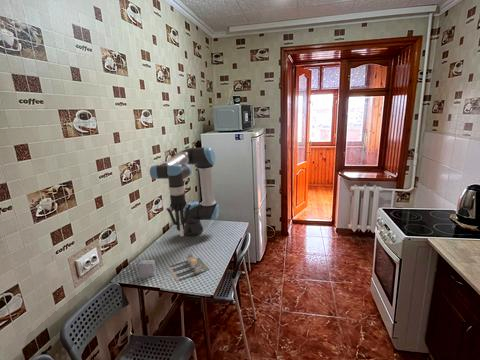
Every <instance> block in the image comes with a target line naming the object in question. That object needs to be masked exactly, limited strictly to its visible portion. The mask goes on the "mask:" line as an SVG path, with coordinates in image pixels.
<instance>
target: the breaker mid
mask: <svg viewBox="0 0 480 360" xmlns="http://www.w3.org/2000/svg"><path fill="white" fill-rule="evenodd" d="M196 259H197V258H195V259H192V260H190V263H191V267H190V268H191V269H193V268H194V265H195V264H197V263H198V262H197V260H196Z"/></svg>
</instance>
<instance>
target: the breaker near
mask: <svg viewBox="0 0 480 360" xmlns="http://www.w3.org/2000/svg"><path fill="white" fill-rule="evenodd" d="M197 263H198V262H197ZM194 268H195V269H194V270H195V271H194V272H195V274H196V273H199V272H202V271H203V269H202V267H201V265H200V264H199V263H198V264H195V265H194Z"/></svg>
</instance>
